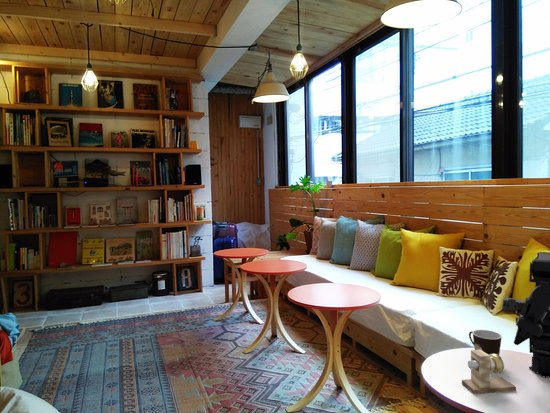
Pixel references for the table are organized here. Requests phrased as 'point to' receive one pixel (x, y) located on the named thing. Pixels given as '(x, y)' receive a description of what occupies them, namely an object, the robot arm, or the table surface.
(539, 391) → the table surface
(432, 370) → the table surface
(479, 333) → the coffee mug
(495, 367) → the shaft
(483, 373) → the bearing stand
